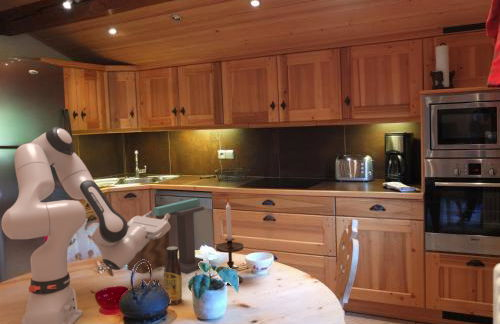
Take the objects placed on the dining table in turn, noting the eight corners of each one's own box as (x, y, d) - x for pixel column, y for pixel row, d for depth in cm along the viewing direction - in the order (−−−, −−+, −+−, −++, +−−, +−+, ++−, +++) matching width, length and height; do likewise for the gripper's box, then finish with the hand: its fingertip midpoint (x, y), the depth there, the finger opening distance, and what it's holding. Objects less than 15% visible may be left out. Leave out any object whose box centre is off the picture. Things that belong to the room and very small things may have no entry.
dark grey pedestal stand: (187, 273, 193) (184, 213, 190) (164, 268, 201) (161, 209, 198) (210, 264, 204) (207, 207, 201) (187, 259, 212) (184, 204, 209)
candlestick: (237, 287, 175) (233, 197, 171) (212, 284, 180) (208, 196, 176) (249, 278, 185) (246, 192, 181) (225, 275, 189) (222, 191, 186)
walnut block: (142, 273, 195) (139, 232, 193) (127, 269, 201) (124, 229, 199) (170, 263, 208) (168, 224, 206) (155, 259, 214) (153, 221, 212)
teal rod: (158, 215, 186) (158, 208, 186) (154, 215, 188) (153, 207, 188) (199, 205, 205) (199, 198, 205) (195, 204, 207) (194, 198, 207)
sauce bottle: (161, 303, 162) (158, 249, 160) (171, 297, 168) (169, 244, 166) (175, 306, 159) (173, 251, 157) (186, 300, 165) (183, 246, 163)
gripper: (152, 233, 172) (175, 209, 181) (118, 227, 185) (141, 205, 193) (159, 246, 175) (181, 221, 184) (126, 238, 188) (148, 216, 196)
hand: (160, 213), depth 189 cm, fingers open, 8 cm apart
